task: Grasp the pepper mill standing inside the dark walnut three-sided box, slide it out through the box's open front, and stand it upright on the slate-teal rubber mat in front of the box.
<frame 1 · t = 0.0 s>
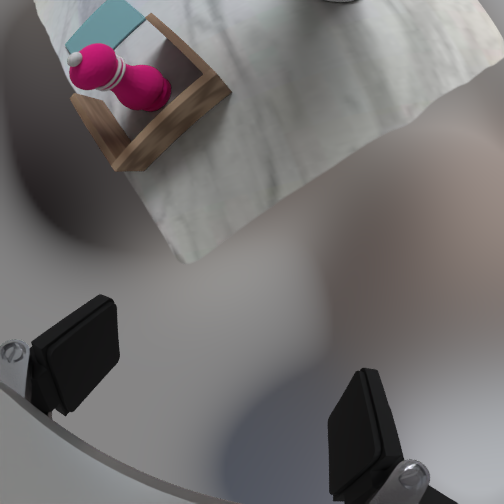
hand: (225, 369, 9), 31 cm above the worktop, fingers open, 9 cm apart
pepper mill: (155, 94, 36), on the worktop
open side box: (154, 94, 36), on the worktop
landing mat: (101, 31, 33), on the worktop
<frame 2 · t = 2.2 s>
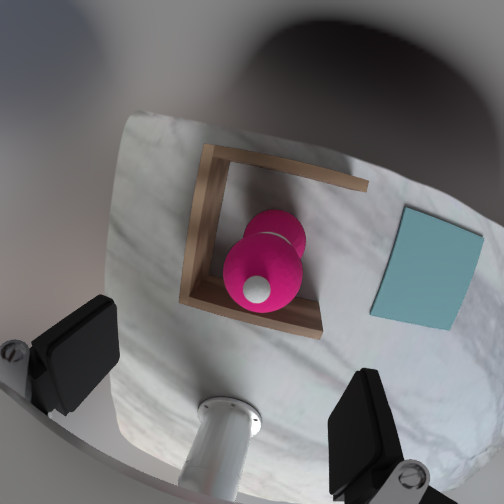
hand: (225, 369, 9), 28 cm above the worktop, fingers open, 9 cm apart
pepper mill: (277, 233, 36), on the worktop
open side box: (277, 233, 36), on the worktop
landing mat: (432, 275, 33), on the worktop
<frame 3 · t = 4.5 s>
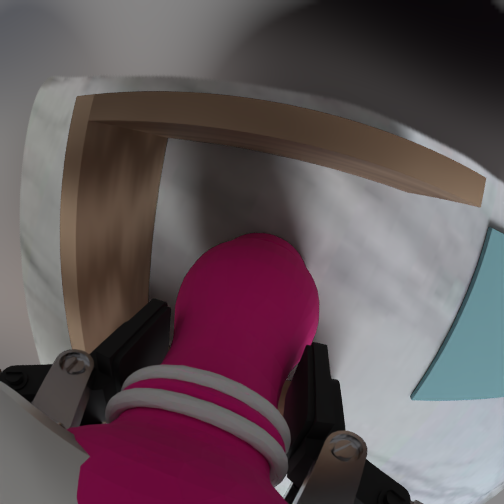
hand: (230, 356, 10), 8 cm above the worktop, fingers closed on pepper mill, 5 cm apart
pepper mill: (260, 277, 18), on the worktop, touching gripper
open side box: (259, 279, 18), on the worktop
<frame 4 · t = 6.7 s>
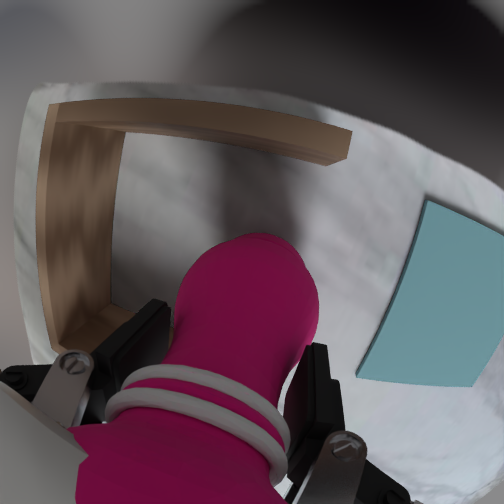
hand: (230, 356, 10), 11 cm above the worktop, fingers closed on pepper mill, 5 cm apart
pepper mill: (259, 277, 18), point 2 cm above the worktop, touching gripper
open side box: (194, 246, 21), on the worktop
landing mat: (460, 314, 18), on the worktop
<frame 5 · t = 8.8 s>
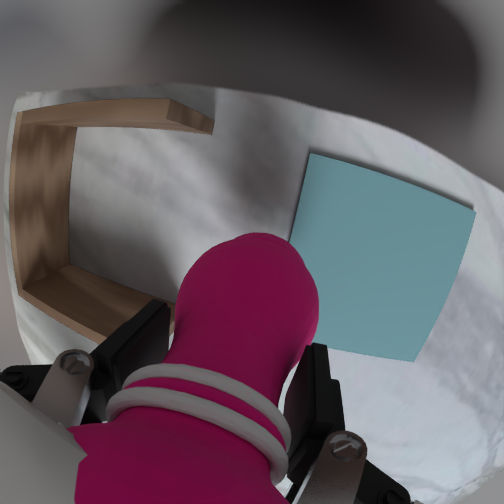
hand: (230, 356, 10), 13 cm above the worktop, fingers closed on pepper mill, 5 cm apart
pepper mill: (260, 277, 18), point 5 cm above the worktop, touching gripper
open side box: (121, 210, 24), on the worktop
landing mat: (376, 273, 21), on the worktop
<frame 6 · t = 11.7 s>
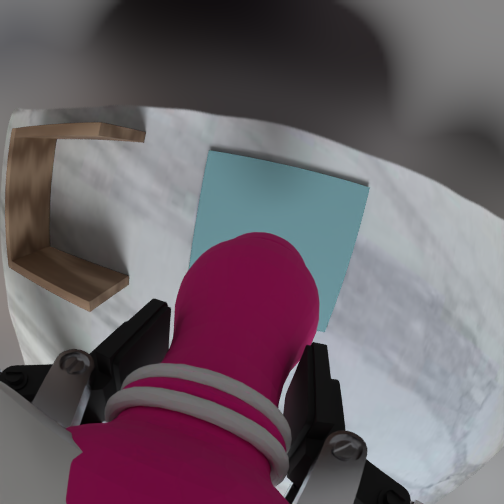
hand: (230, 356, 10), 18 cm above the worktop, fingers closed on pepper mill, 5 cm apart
pepper mill: (260, 276, 18), point 10 cm above the worktop, touching gripper
open side box: (85, 201, 30), on the worktop
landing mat: (271, 244, 27), on the worktop
when the fingers open (10 cm above the worktop, at t = 13.5 s): pepper mill drops 1 cm, resting on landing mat.
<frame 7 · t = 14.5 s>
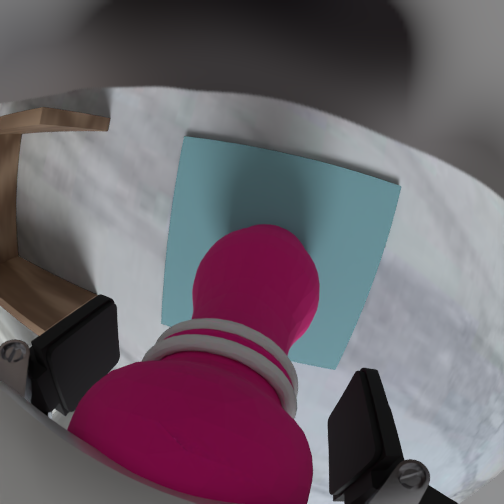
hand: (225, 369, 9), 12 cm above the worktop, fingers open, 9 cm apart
pepper mill: (266, 265, 20), resting on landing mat
open side box: (48, 205, 23), on the worktop
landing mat: (268, 262, 20), on the worktop
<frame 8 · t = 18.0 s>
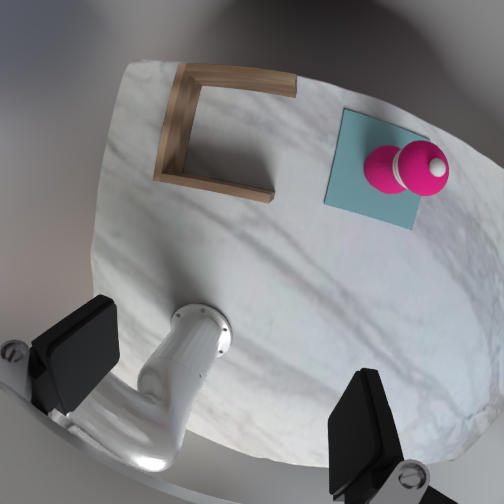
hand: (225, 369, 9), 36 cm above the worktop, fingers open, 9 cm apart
pepper mill: (381, 170, 39), resting on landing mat
open side box: (236, 134, 41), on the worktop
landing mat: (381, 169, 39), on the worktop
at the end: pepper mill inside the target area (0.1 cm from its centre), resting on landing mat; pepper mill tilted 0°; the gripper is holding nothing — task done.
